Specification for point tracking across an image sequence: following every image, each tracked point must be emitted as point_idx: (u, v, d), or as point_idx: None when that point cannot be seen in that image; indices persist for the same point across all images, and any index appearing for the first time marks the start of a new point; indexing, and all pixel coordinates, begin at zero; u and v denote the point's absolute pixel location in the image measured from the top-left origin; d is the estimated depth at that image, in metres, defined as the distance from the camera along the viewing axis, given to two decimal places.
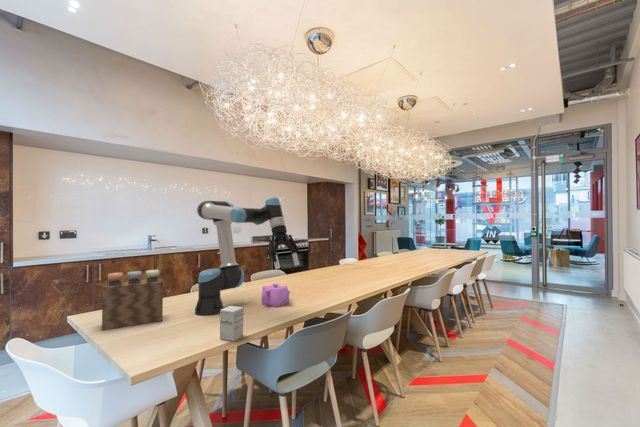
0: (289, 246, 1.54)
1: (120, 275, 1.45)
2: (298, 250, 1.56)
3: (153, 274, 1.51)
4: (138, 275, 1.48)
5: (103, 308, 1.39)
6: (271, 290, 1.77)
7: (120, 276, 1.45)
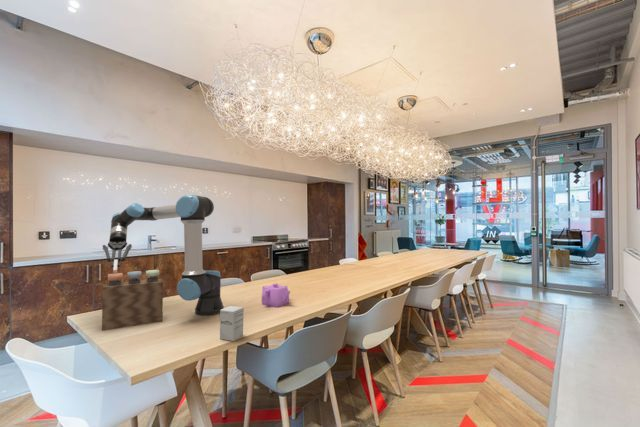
0: None
1: (120, 276, 1.45)
2: None
3: (153, 274, 1.51)
4: (138, 275, 1.48)
5: (103, 308, 1.39)
6: (271, 290, 1.77)
7: (120, 277, 1.45)
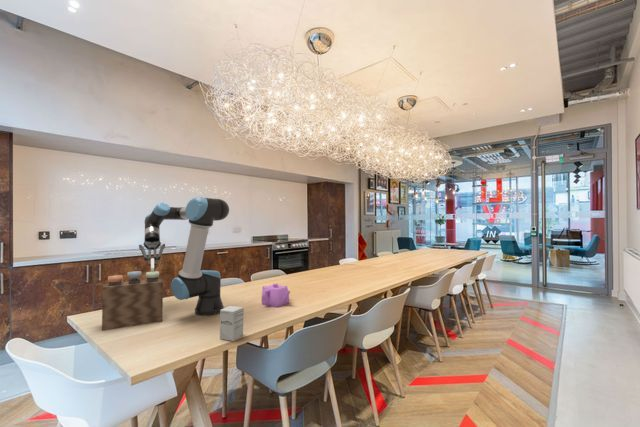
0: (150, 252, 1.61)
1: (120, 278, 1.45)
2: None
3: (153, 276, 1.51)
4: (138, 275, 1.48)
5: (103, 308, 1.39)
6: (271, 290, 1.77)
7: (120, 279, 1.45)
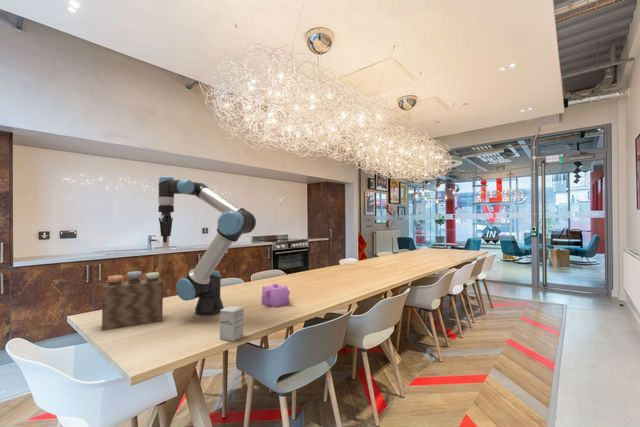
0: None
1: (120, 278, 1.45)
2: None
3: (153, 277, 1.51)
4: (138, 275, 1.48)
5: (103, 308, 1.39)
6: (271, 290, 1.77)
7: (120, 279, 1.45)
